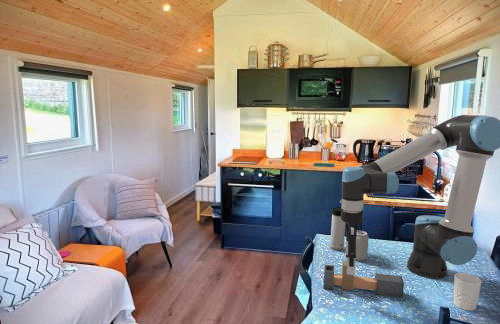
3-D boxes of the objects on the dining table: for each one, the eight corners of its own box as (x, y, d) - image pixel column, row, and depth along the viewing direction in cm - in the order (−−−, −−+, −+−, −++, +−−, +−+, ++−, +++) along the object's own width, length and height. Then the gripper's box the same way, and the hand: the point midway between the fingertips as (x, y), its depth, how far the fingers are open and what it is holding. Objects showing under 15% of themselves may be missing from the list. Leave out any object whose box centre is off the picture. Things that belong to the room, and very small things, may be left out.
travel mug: (344, 251, 167) (347, 210, 164) (330, 250, 168) (332, 208, 165) (344, 246, 173) (346, 206, 170) (330, 245, 174) (332, 205, 171)
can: (369, 257, 161) (370, 231, 159) (364, 263, 155) (366, 236, 153) (352, 253, 165) (354, 228, 163) (347, 259, 159) (349, 233, 157)
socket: (333, 282, 137) (334, 265, 136) (333, 289, 132) (334, 272, 130) (323, 281, 138) (324, 264, 137) (323, 288, 132) (324, 271, 131)
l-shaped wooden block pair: (376, 287, 133) (378, 264, 131) (378, 293, 129) (380, 269, 128) (326, 281, 137) (327, 259, 135) (326, 286, 133) (327, 263, 132)
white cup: (478, 314, 118) (481, 286, 116) (450, 307, 122) (453, 279, 120) (478, 303, 124) (481, 276, 123) (452, 297, 128) (454, 270, 127)
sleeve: (400, 291, 132) (401, 276, 131) (402, 298, 127) (404, 282, 126) (374, 287, 134) (375, 273, 133) (375, 294, 129) (377, 279, 128)
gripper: (340, 200, 142) (338, 251, 145) (342, 220, 118) (340, 280, 121) (360, 201, 140) (358, 253, 143) (365, 221, 116) (363, 283, 119)
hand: (349, 265), depth 132 cm, fingers open, 13 cm apart
